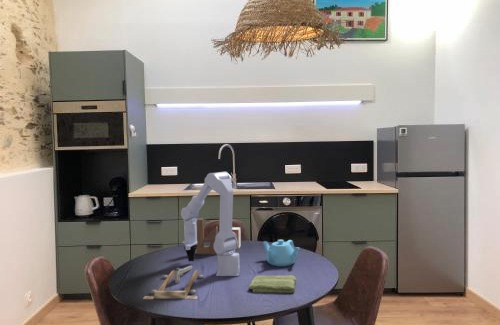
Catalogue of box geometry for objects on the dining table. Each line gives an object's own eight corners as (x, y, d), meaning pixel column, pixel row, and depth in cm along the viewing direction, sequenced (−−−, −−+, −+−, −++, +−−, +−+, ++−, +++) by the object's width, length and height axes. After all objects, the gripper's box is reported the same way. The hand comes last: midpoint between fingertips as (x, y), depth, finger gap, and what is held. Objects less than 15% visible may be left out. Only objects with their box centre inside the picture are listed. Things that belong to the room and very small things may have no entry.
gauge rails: (208, 273, 165) (208, 267, 165) (196, 299, 138) (196, 292, 138) (162, 273, 166) (162, 268, 166) (142, 299, 139) (142, 292, 139)
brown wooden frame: (217, 254, 192) (216, 219, 191) (196, 254, 193) (195, 219, 192) (218, 252, 195) (217, 218, 194) (198, 252, 196) (197, 218, 195)
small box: (224, 248, 202) (223, 229, 202) (226, 245, 208) (226, 226, 207) (239, 249, 201) (238, 229, 200) (241, 246, 206) (240, 227, 206)
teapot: (300, 267, 170) (300, 243, 170) (267, 269, 169) (267, 245, 168) (293, 257, 185) (293, 235, 185) (263, 258, 184) (262, 236, 184)
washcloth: (253, 280, 156) (253, 272, 156) (296, 282, 154) (296, 274, 153) (248, 293, 143) (248, 285, 143) (295, 295, 141) (295, 286, 140)
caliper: (177, 284, 153) (177, 269, 153) (175, 284, 153) (174, 269, 153) (192, 267, 173) (192, 254, 173) (190, 267, 174) (190, 254, 173)
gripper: (185, 228, 185) (186, 256, 186) (178, 236, 170) (179, 265, 171) (199, 228, 185) (200, 256, 185) (193, 236, 170) (194, 265, 171)
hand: (191, 260), depth 178 cm, fingers closed
